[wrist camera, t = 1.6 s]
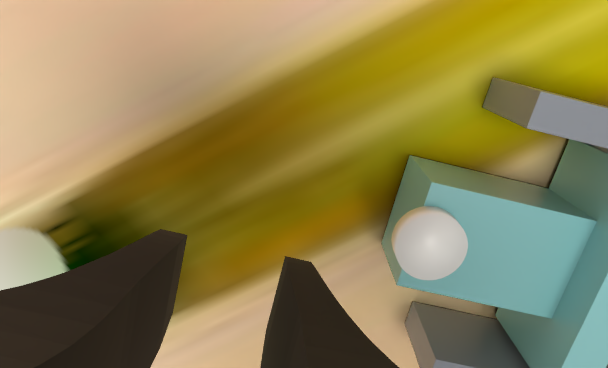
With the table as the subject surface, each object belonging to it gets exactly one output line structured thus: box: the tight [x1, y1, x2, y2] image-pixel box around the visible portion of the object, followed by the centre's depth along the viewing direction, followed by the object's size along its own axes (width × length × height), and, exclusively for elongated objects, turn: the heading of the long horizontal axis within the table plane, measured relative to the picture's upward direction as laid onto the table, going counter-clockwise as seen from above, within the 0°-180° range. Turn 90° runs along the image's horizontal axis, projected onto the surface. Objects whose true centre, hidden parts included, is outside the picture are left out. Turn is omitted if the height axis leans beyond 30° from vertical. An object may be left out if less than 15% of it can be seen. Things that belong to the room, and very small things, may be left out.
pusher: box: [381, 139, 608, 368], centre depth 18 cm, size 8×8×5 cm
